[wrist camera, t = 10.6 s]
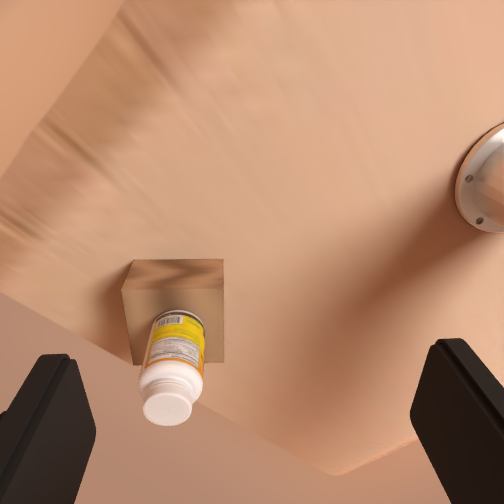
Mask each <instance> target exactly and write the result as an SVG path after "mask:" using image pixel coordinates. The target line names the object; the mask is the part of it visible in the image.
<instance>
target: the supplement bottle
mask: <svg viewBox="0 0 504 504" xmlns="http://www.w3.org/2000/svg"><path fill="white" fill-rule="evenodd" d="M204 346H205V328H204V325H203V323H202V321H201V320H200V319H199V318H198V317H197V316H196V315H194V314H193V313H190V312H188V311H184V310H172V311H168V312H165V313H163V314H162V315H160V316H159V317H158V318H157V319H156V320H155V321H154V323H153V325H152V328H151V332H150V336H149V340H148V344H147V349H146V353H145V357H144V361H143V365H142V369H141V373H140V377H139V382H138V390H139V393H140V395H141V397H142V398H143V400H144V403H143V413H144V415H145V417H146V418H147V419H148V420H149V421H151V422H152V423H155V424H158V425H162V426H173V425H177V424H180V423H182V422H184V421H185V420H187V419H188V417H189V416H190V414H191V411H192V404H193V403H194V402H195V401H196V400H197V399H198V397H199V396H200V394H201V392H202V387H203V368H204Z"/></svg>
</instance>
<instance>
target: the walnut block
mask: <svg viewBox="0 0 504 504" xmlns="http://www.w3.org/2000/svg"><path fill="white" fill-rule="evenodd" d="M121 293H122V299H123V305H124V311H125V317H126V323H127V329H128V335H129V341H130V347H131V354H132V360H133V365H143V361H144V357H145V353H146V349H147V344H148V340H149V336H150V332H151V328H152V325H153V323H154V321H155V320H156V319H157V318H158V317H159V316H160V315H162V314H163V313H165V312H168V311H172V310H184V311H188V312H190V313H193V314H194V315H196V316H197V317H198V318H199V319H200V320H201V321H202V323H203V325H204V328H205V346H204V363H224V281H223V259H178V260H133V263H132V265H131V268H130V270H129V272H128V275H127V277H126V280H125V282H124V284H123V287H122V289H121Z"/></svg>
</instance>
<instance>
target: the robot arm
mask: <svg viewBox="0 0 504 504" xmlns="http://www.w3.org/2000/svg"><path fill="white" fill-rule="evenodd" d="M455 201H456V205H457V208H458V210H459V212H460V214H461V215H462V217H463V218H464V219H465V220H466V221H467V222H469V223H470V224H471V225H473V226H474V227H476V228H478V229H480V230H483V231H486V232H492V233H504V123H503V124H501V125H499V126H497V127H495V128H494V129H493V130H491V131H490V132H489V133H487V134H486V135H485V136H483V138H482V139H481V140H480V141H479V142H478V143H477V144H476V145H475V146H474V147H473V148H472V150H471V151H470V152H469V154H468V155H467V156H466V158H465V160H464V162H463V164H462V165H461V167H460V170H459V173H458V176H457V179H456V185H455ZM410 419H411V423H412V425H413V427H414V429H415V431H416V433H417V435H418V437H419V440H420V442H421V443H422V446H423V447H424V449H425V452H426V454H427V455H428V458H429V460H430V462H431V463H432V466H433V468H434V469H435V471H436V474H437V475H438V478H439V480H440V482H441V484H442V486H443V487H444V490H445V492H446V493H447V496H448V497H449V500H450V502H451V504H504V388H503V386H502V385H501V384H500V383H499V381H498V380H497V379H496V378H495V377H494V375H493V374H492V373H491V372H490V371H489V369H488V368H487V367H486V366H485V364H484V363H483V362H482V361H481V360H480V358H479V357H478V356H477V355H476V354H475V352H474V351H473V350H472V349H471V347H470V346H469V345H468V344H467V343H466V342H465V341H464V340H463V339H461V338H453V339H438V340H437V341H436V343H435V345H432V346H430V349H429V352H428V355H427V358H426V361H425V365H424V368H423V371H422V374H421V377H420V381H419V384H418V387H417V390H416V393H415V397H414V400H413V403H412V406H411V410H410ZM95 436H96V427H95V423H94V419H93V416H92V413H91V409H90V406H89V403H88V399H87V396H86V392H85V389H84V386H83V382H82V379H81V376H80V372H79V369H78V365H77V362H76V360H74V359H70V358H69V356H68V355H67V354H46V355H41V356H40V357H39V358H38V360H37V361H36V363H35V365H34V367H33V368H32V370H31V371H30V373H29V375H28V376H27V378H26V380H25V381H24V383H23V385H22V386H21V388H20V390H19V391H18V393H17V395H16V397H15V398H14V400H13V401H12V403H11V405H10V406H9V408H8V409H7V411H4V412H3V413H1V414H0V504H74V502H75V499H76V496H77V493H78V490H79V487H80V484H81V481H82V478H83V475H84V472H85V469H86V466H87V463H88V460H89V457H90V454H91V451H92V448H93V445H94V442H95Z"/></svg>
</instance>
